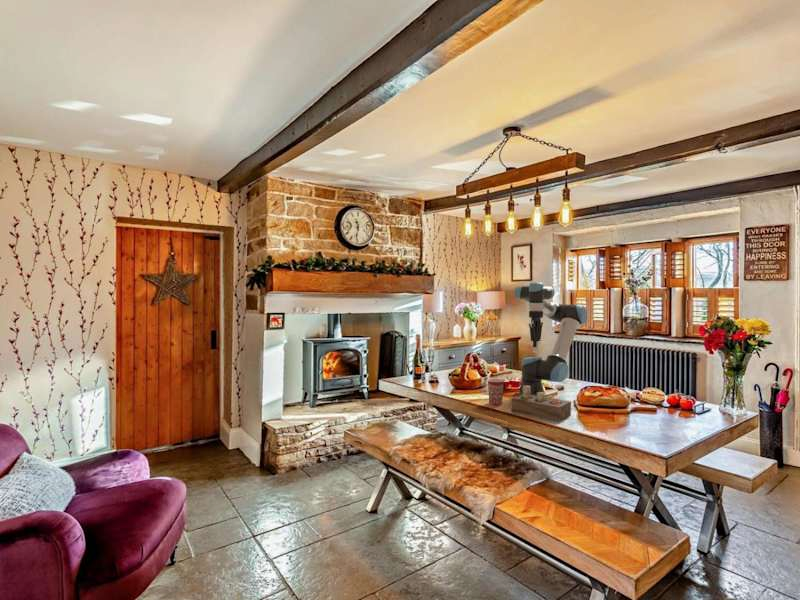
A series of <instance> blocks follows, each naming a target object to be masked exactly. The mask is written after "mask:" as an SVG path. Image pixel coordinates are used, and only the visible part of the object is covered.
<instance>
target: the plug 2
mask: <svg viewBox="0 0 800 600" xmlns="http://www.w3.org/2000/svg"><path fill="white" fill-rule="evenodd" d="M551 398H552V403H553V404H560V400H561V398H560V397H551Z"/></svg>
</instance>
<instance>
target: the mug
mask: <svg viewBox="0 0 800 600" xmlns="http://www.w3.org/2000/svg"><path fill="white" fill-rule="evenodd" d="M487 386H488V387H487V388H488V402H489V404H490V405H492V406H501V405H503V399H504V398H503V397H504V394H505V393H506V388H507V385H506V382H505V380H504V379H503V378H502V379H501V378H496V377H495V378H488V379H487Z"/></svg>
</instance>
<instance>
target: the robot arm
mask: <svg viewBox="0 0 800 600" xmlns="http://www.w3.org/2000/svg"><path fill="white" fill-rule="evenodd" d="M554 296H555V289H554V288H553V287H552V286H550V285H544V284H543V282H530V283H529V285H524V286H523V285H521V286H516V287H515V288H514V297H515V299H517V300H518V299H519V300H523V301H526V302H527V303H528V309H529V311H528V317H529V318H530V323H528V327H529V332H530V333H529V335H530V341H531V342H532V353H533V354H539V351H540V350H539V349H540V347H539V345H540V342H541V341H542V331H543V325H544V323H543V321H542V318H544V316H545V317H547V318H548V319H549V320H552V321H555V322H557V323H561V328H560V330H559V333H558V336H557V338H556V341H555V343H554V346H553V349H552V352H551V353H550V354H549V355H547V357H546V360H545V359H543V357H542V356H529V357H523V358H522V360H521V383H520V387H519V388H518V396H519V395H522V394H523V386H531V393H530V395H535V396H537V392H543V393H545V389H544V385H543V383H542V381H547V382H553V383H562V382H564V381H565V380H566V379H567V377H568V375H569V369H570V367H569V365H568V363H567V361H566V359H567V357H568V353H569V352H570V348H571V345H572V342H573V340H574V337H575V334H576V332H577V330H579V329H580V328H581V326H582V325H584V324H586V323H587V321H588V311H587V309H586V307H585V306H584V305H583V304H559V303H555V302H553V301H549V300H551V299H553V297H554ZM545 394H546V393H545Z"/></svg>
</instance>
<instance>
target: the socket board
mask: <svg viewBox="0 0 800 600" xmlns="http://www.w3.org/2000/svg"><path fill="white" fill-rule="evenodd" d="M552 398H553V397H546V396H545V401H544V402H542V401H537V396H535V395H530V399H525V398H523V394H522V395H519V394H518V395H517V396H515V397H512V398H511V412H512V411H513V413H516V414H517V413H518V414H521V415H527V416H532V417H537V418H542V419H548V420H551V421H555V422H556V421H557V422H561V421H563V420H564V419H566V418H569V417H571V414H572V409H571V408H572V402H571V401H570V400H569V401H568V400H564V399H560V404H553V403H552Z"/></svg>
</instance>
